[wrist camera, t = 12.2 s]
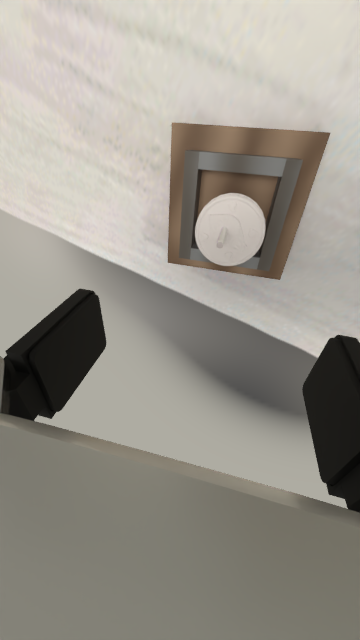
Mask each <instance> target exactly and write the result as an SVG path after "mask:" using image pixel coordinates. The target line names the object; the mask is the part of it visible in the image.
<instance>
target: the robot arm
mask: <svg viewBox="0 0 360 640" xmlns="http://www.w3.org/2000/svg"><path fill="white" fill-rule="evenodd" d="M105 347H106V337H105V331H104V326H103V320H102V314H101V308H100V302H99V298H98V296H97V295H95V293H94V291H90V290H85V289H79V290H77V291H76V292H75V293H74V294H72V295H71V296H70V297H69V298H68V299H66V300H65V301H64V302H63V303H62V304H61V305H59V306H58V307H57V308H56V309H55V310H54V311H52V312H51V313H50V314H49V315H48V316H46V317H45V318H44V319H43V320H42V321H41V322H40V323H38V324H37V325H36V326H35V327H34V328H32V329H31V330H30V331H29V332H28V333H27V334H25V336H23V337H22V338H21V339H20V340H18V341H17V342H16V343H15V344H13V345H12V346H11V347H10V348H9V349H8V350H6V353H7V356H6V357H5V358H4V359H3V358H2V357H1V356H0V640H360V343H359V341H358V340H357V339H356V338H353V337H348V336H342V335H337V336H336V337H335V338H330V339H329V340H328V342H327V344H326V346H325V347H324V349H323V351H322V353H321V354H320V356H319V358H318V360H317V361H316V363H315V365H314V367H313V368H312V370H311V372H310V374H309V376H308V377H307V379H306V381H305V383H304V385H303V396H304V401H305V406H306V410H307V415H308V420H309V425H310V429H311V434H312V439H313V444H314V448H315V453H316V458H317V462H318V467H319V472H320V476H321V479H322V481H323V482H324V483H326V484H327V488H328V493H329V495H333V496H336V497H340V498H343V499H345V501H346V504H347V508H348V509H346V508H342V507H339V506H336V505H333V504H329V503H326V502H323V501H319V500H316V499H313V498H309V497H306V496H303V495H299V494H296V493H292V492H289V491H285V490H282V489H278V488H275V487H271V486H268V485H264V484H260V483H256V482H253V481H250V480H246V479H242V478H239V477H235V476H232V475H228V474H225V473H221V472H218V471H214V470H211V469H207V468H204V467H200V466H196V465H193V464H189V463H186V462H182V461H178V460H175V459H171V458H168V457H164V456H161V455H157V454H153V453H150V452H146V451H143V450H139V449H135V448H132V447H128V446H124V445H121V444H117V443H113V442H110V441H106V440H103V439H98V438H95V437H91V436H88V435H84V434H80V433H76V432H73V431H69V430H66V429H62V428H58V427H55V426H51V425H47V424H43V423H39V422H35V421H34V419H35V418H36V417H37V415H38V414H39V416H43V417H47V418H50V419H52V417H53V416H54V414H55V413H56V412H58V411H60V410H62V408H63V407H64V406H65V404H66V403H67V401H68V400H69V399H70V397H71V396H72V394H73V393H74V391H75V390H76V389H77V387H78V386H79V384H80V383H81V382H82V380H83V379H84V377H85V376H86V374H87V373H88V372H89V370H90V369H91V367H92V366H93V365H94V363H95V362H96V360H97V359H98V358H99V356H100V355H101V353H102V352H103V350H104V349H105Z"/></svg>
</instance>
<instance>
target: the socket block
mask: <svg viewBox="0 0 360 640" xmlns="http://www.w3.org/2000/svg"><path fill="white" fill-rule="evenodd" d="M329 135H330V133H325V132H309V131H294V130H278V129H263V128H247V127H231V126H216V125H200V124H185V123H172V140H171V173H170V206H169V239H168V263H174V264H180V265H187V266H193V267H200V268H206V269H213V270H219V271H226V272H232V273H239V274H246V275H252V276H259V277H265V278H272V279H278V280H280V278H281V275H282V272H283V269H284V266H285V263H286V261H287V258H288V255H289V252H290V249H291V246H292V243H293V240H294V237H295V234H296V231H297V228H298V226H299V223H300V220H301V217H302V214H303V211H304V208H305V205H306V202H307V199H308V196H309V193H310V191H311V188H312V185H313V182H314V179H315V176H316V173H317V170H318V167H319V164H320V161H321V159H322V156H323V153H324V150H325V147H326V144H327V141H328V138H329ZM227 193H239V194H243V195H245V196H248V197H250V198H251V199H252V200H254V201H255V202H256V203H257V204H258V205H259V207H260V208H261V210H262V212H263V215H264V218H265V228H266V230H265V236H264V240H263V243H262V245H261V247H260V248H259V250H258V251H257V253H256V254H255V255H254V256H253V257H251V258H250V259H249V260H247V261H246V262H244V263H241V264H238V265H234V266H222V265H218V264H215V263H213V262H211V261H210V260H208V259H207V258H206V257H205V256H204V255H203V254H202V253H201V251H200V250H199V248H198V246H197V243H196V239H195V226H196V222H197V219H198V217H199V214H200V213H201V211H202V210H203V208H204V206H205V205H206V204H208V203H209V202H210V201H211V200H212V199H214V198H216V197H218V196H220V195H223V194H227Z"/></svg>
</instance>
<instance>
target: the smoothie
mask: <svg viewBox="0 0 360 640" xmlns="http://www.w3.org/2000/svg"><path fill="white" fill-rule="evenodd" d="M265 230H266V228H265V218H264V215H263V212H262V210H261V208H260V207H259V205H258V204H257V203H256V202H255V201H254V200H252V199H251V198H250V197H248V196H245V195H243V194H239V193H227V194H223V195H220V196H218V197H216V198H214V199H212V200H211V201H210V202H209V203H208V204H206V205H205V206H204V208H203V210H202V211H201V213H200V214H199V217H198V219H197V222H196V226H195V239H196V243H197V246H198V248H199V250H200V251H201V253H202V254H203V255H204V256H205V257H206V258H207V259H208V260H210V261H211V262H213V263H215V264H218V265H222V266H234V265H238V264H241V263H244V262H246V261H247V260H249V259H250V258H251V257H253V256H254V255H255V254H256V253H257V251H258V250H259V248H260V247H261V245H262V243H263V240H264V236H265Z"/></svg>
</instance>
